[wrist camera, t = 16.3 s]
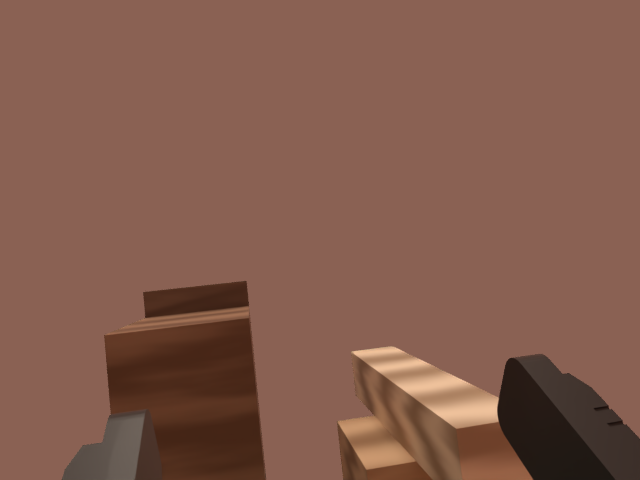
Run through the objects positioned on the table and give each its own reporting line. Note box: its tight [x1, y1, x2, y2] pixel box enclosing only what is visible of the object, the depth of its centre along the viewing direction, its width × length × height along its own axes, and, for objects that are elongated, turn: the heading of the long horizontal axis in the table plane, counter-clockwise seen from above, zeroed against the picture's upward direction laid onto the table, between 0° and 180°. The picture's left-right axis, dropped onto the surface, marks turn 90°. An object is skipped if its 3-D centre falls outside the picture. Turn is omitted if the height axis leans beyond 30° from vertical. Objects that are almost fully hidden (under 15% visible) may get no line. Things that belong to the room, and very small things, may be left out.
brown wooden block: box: [351, 346, 533, 480], centre depth 36 cm, size 24×4×4 cm, turn 8°
